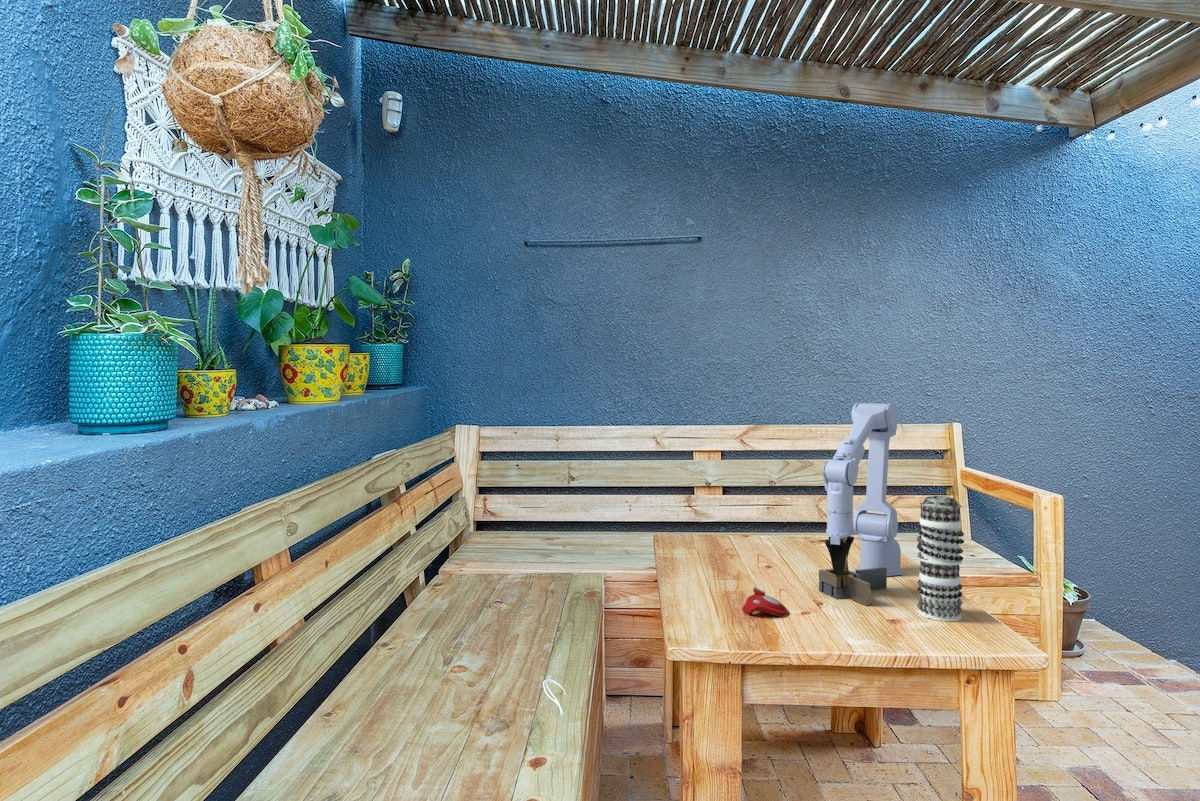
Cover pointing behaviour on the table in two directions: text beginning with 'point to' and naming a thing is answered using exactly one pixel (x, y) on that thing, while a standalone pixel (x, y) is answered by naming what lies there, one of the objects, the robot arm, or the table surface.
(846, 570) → the hinge pin
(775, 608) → the tracker holder
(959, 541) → the decorative candle
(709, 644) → the table surface
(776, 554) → the table surface
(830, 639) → the table surface
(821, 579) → the swing leaf
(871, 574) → the fixed leaf
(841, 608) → the table surface
